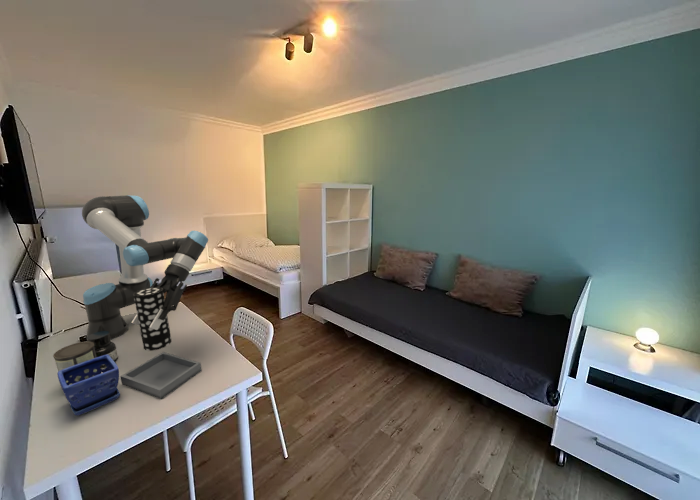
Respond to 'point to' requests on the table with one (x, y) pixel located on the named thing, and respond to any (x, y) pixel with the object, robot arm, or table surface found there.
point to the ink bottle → (103, 345)
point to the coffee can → (75, 356)
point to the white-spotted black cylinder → (151, 318)
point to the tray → (161, 374)
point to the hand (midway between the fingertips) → (144, 326)
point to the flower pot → (90, 384)
